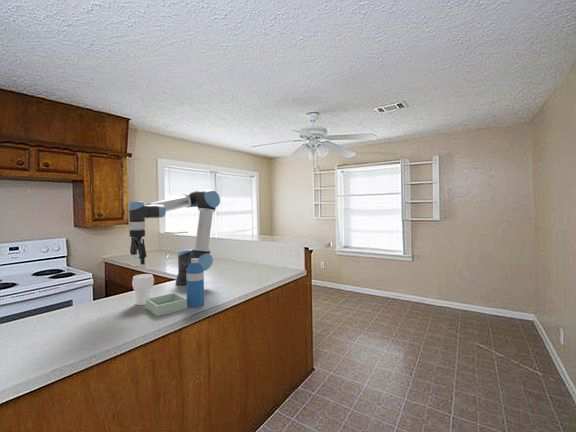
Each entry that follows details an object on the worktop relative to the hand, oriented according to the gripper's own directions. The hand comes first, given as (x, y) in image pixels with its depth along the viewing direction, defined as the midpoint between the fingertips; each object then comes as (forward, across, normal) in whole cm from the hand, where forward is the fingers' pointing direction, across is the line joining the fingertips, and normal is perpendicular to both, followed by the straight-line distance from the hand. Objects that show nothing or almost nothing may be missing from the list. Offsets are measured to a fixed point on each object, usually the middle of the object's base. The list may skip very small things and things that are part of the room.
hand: (138, 268), depth 158 cm
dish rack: (+20, +19, +8) cm, 28 cm away
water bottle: (+20, +24, +21) cm, 38 cm away
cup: (+20, +1, +2) cm, 20 cm away
